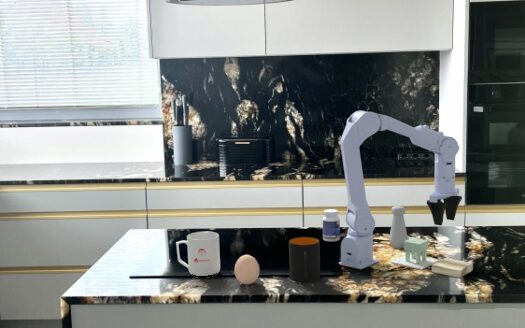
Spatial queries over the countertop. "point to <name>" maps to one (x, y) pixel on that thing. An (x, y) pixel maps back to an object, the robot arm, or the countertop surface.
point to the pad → (414, 262)
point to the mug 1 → (202, 253)
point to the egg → (246, 269)
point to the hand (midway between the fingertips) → (444, 222)
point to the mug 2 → (304, 259)
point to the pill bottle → (331, 225)
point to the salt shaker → (398, 228)
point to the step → (452, 267)
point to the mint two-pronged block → (416, 249)
